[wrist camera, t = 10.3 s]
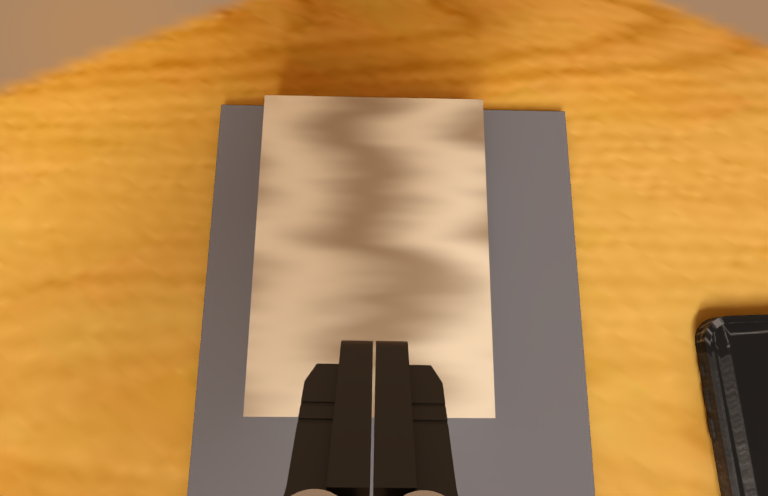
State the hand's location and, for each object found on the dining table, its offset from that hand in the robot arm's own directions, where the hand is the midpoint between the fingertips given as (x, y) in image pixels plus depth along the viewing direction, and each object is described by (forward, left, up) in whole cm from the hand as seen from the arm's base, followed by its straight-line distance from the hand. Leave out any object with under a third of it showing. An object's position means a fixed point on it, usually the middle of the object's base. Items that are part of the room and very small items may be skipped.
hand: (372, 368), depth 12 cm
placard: (0, +2, -10) cm, 10 cm away
